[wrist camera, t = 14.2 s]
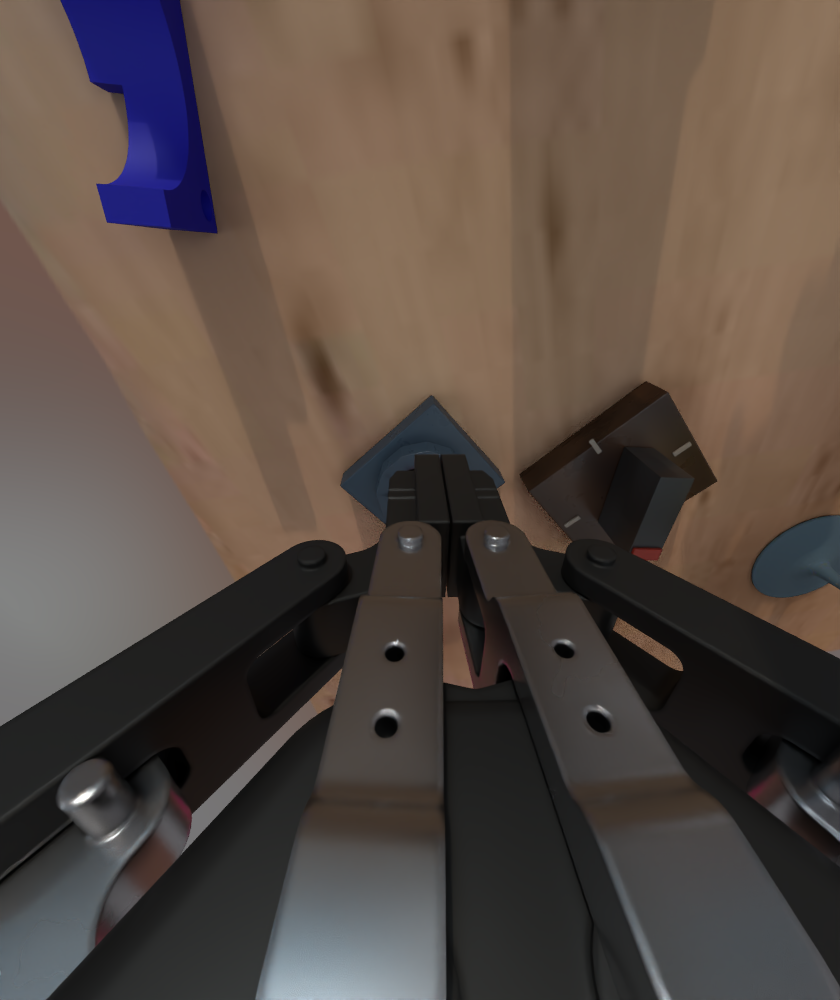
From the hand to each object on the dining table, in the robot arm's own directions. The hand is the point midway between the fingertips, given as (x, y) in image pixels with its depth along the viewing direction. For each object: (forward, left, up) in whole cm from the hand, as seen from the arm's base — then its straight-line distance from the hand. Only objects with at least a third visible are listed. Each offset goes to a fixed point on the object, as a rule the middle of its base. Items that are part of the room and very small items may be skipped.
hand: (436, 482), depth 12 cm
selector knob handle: (-6, +19, -17) cm, 26 cm away
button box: (+6, +8, -20) cm, 22 cm away
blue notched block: (+2, -19, -20) cm, 28 cm away
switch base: (-6, +19, -20) cm, 28 cm away
